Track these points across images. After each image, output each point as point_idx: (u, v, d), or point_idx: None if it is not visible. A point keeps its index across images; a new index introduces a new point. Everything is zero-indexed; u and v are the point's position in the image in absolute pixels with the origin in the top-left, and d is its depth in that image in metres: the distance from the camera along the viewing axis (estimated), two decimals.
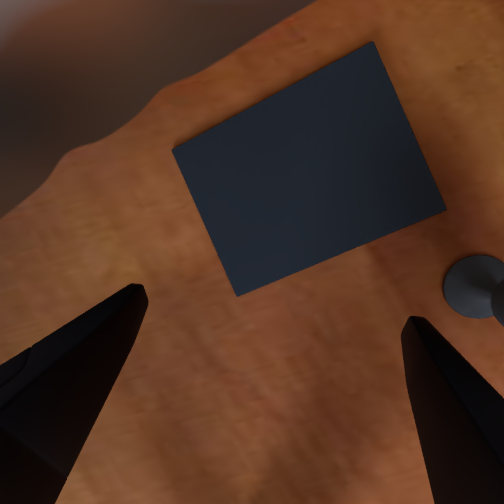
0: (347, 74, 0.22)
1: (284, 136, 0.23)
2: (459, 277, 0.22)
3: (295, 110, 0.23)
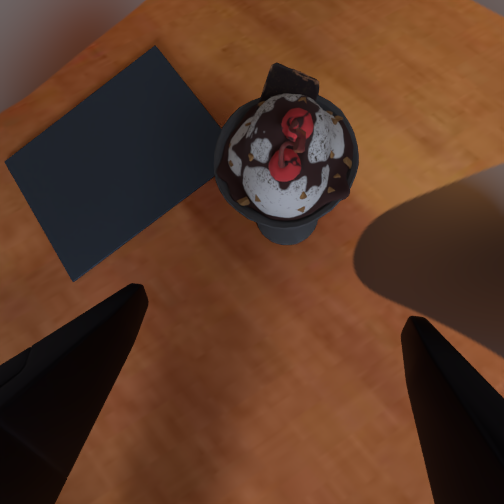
0: (140, 71, 0.27)
1: (97, 128, 0.26)
2: None
3: (103, 107, 0.27)
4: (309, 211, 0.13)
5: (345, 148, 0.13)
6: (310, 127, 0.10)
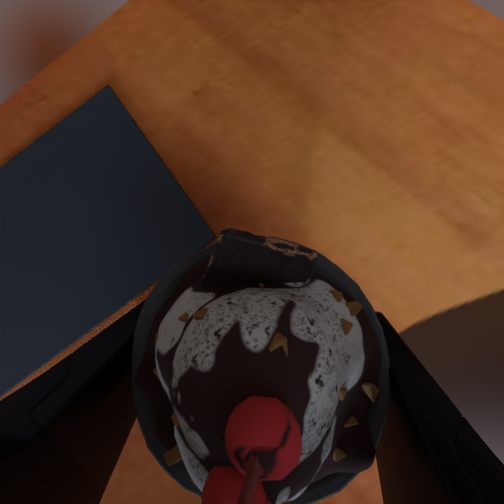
0: (87, 119, 0.21)
1: (32, 193, 0.20)
2: None
3: (41, 164, 0.21)
4: None
5: (365, 362, 0.07)
6: (294, 454, 0.04)
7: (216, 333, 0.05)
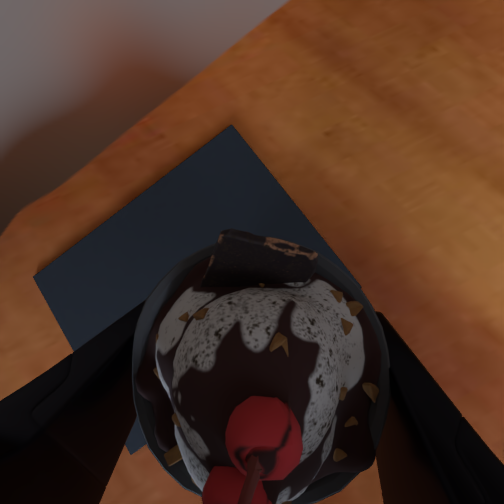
0: (212, 161, 0.20)
1: (157, 237, 0.20)
2: None
3: (164, 208, 0.20)
4: None
5: (366, 362, 0.07)
6: (295, 453, 0.04)
7: (217, 333, 0.05)
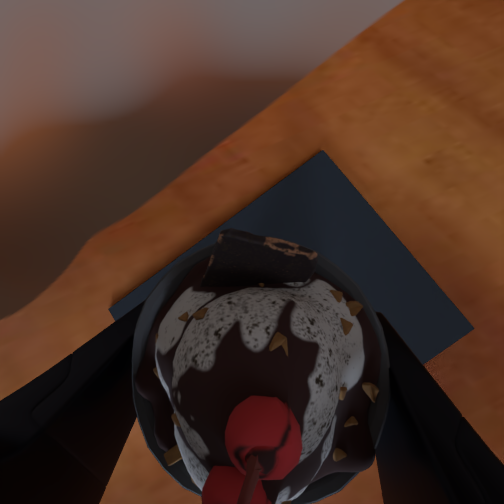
0: (302, 188, 0.19)
1: None
2: None
3: None
4: None
5: (366, 361, 0.07)
6: (294, 453, 0.04)
7: (216, 333, 0.05)
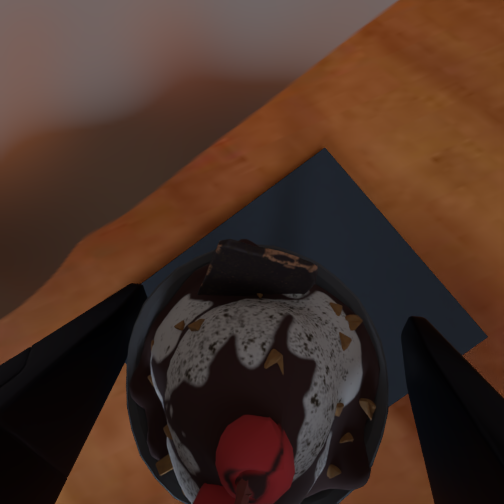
0: (303, 188, 0.18)
1: None
2: None
3: (250, 240, 0.18)
4: None
5: (363, 377, 0.07)
6: (287, 477, 0.04)
7: (211, 347, 0.05)
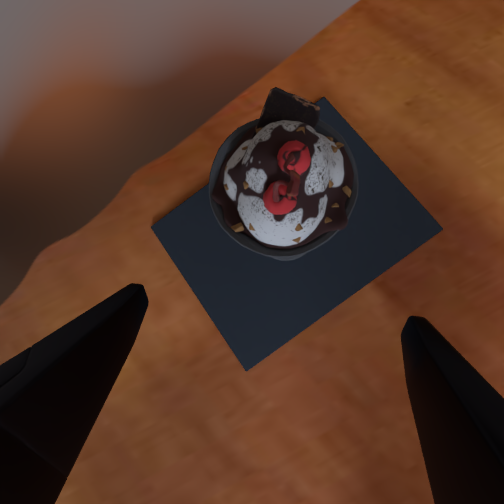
0: None
1: None
2: None
3: None
4: (305, 241, 0.12)
5: (344, 176, 0.12)
6: (307, 161, 0.10)
7: (270, 128, 0.11)
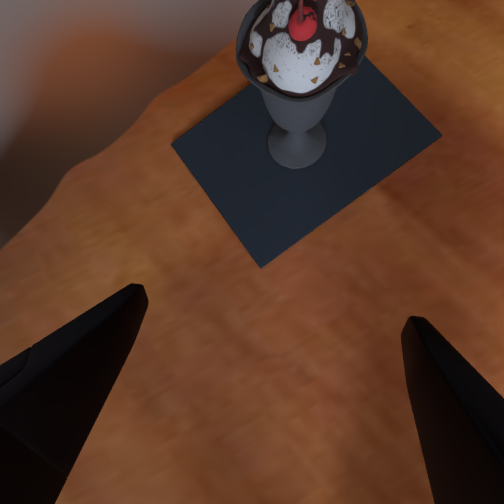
0: None
1: None
2: (277, 134, 0.24)
3: None
4: (321, 85, 0.14)
5: (355, 31, 0.14)
6: None
7: None
